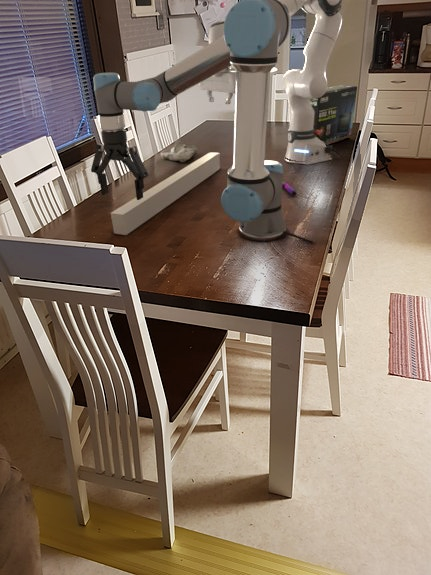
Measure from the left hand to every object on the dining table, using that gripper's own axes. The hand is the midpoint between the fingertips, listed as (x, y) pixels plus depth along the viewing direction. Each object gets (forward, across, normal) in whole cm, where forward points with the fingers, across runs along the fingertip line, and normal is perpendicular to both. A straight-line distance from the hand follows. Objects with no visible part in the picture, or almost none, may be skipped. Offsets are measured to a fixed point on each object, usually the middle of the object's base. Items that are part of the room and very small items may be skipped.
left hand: (122, 196), depth 150 cm
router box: (+11, -38, -132) cm, 138 cm away
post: (+12, 0, -34) cm, 36 cm away
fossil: (+12, +24, -83) cm, 88 cm away
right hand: (-17, -4, -72) cm, 74 cm away
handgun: (+11, -37, -56) cm, 68 cm away
